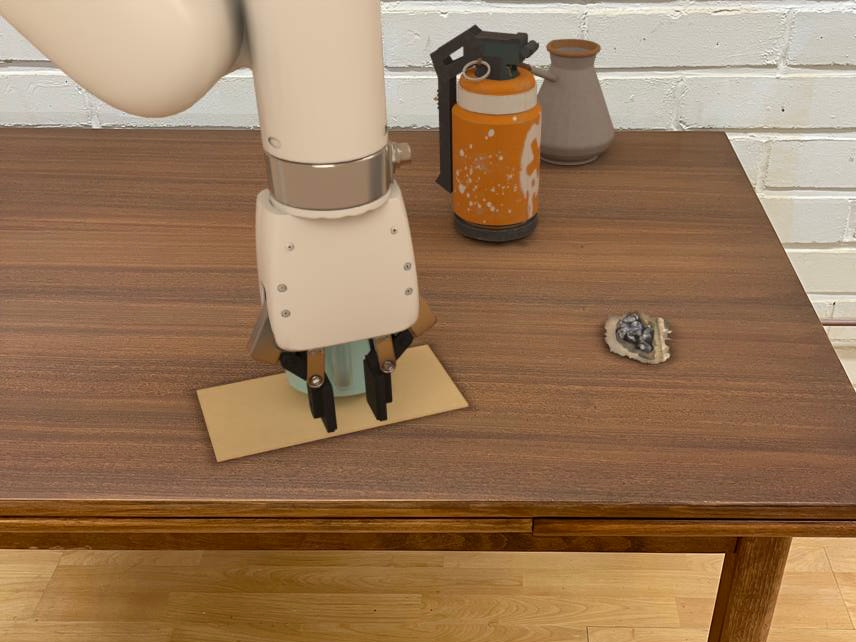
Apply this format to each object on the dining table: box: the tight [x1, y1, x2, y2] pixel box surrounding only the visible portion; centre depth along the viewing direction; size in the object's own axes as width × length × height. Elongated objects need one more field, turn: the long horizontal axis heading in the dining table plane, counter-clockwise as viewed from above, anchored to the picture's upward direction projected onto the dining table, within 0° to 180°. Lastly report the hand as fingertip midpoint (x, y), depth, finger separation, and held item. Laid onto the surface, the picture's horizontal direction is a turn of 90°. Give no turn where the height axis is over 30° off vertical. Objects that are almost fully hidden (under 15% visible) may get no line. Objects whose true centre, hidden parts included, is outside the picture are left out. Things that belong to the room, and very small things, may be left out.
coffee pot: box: [471, 38, 616, 166], centre depth 113 cm, size 21×12×15 cm, turn 130°
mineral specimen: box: [603, 310, 673, 365], centre depth 84 cm, size 7×8×2 cm
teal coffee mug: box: [284, 339, 370, 397], centre depth 75 cm, size 12×9×10 cm
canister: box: [429, 24, 542, 243], centre depth 97 cm, size 9×11×20 cm
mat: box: [196, 344, 469, 463], centre depth 77 cm, size 20×10×1 cm, turn 112°
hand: (352, 414), depth 70 cm, fingers open, 3 cm apart
